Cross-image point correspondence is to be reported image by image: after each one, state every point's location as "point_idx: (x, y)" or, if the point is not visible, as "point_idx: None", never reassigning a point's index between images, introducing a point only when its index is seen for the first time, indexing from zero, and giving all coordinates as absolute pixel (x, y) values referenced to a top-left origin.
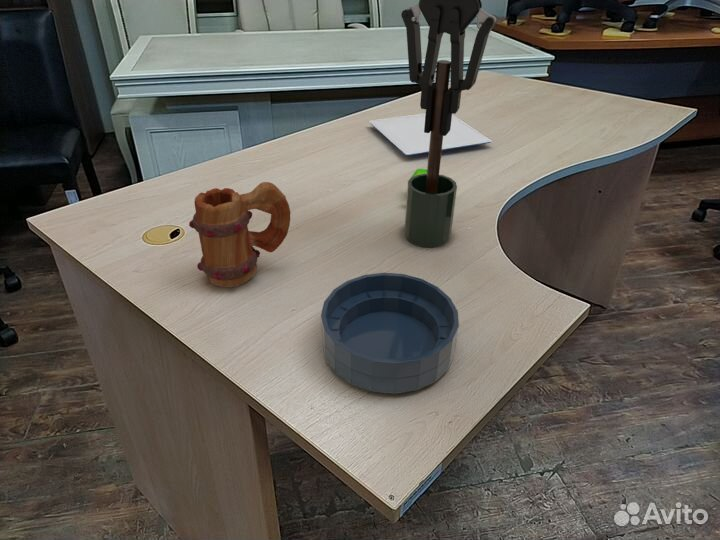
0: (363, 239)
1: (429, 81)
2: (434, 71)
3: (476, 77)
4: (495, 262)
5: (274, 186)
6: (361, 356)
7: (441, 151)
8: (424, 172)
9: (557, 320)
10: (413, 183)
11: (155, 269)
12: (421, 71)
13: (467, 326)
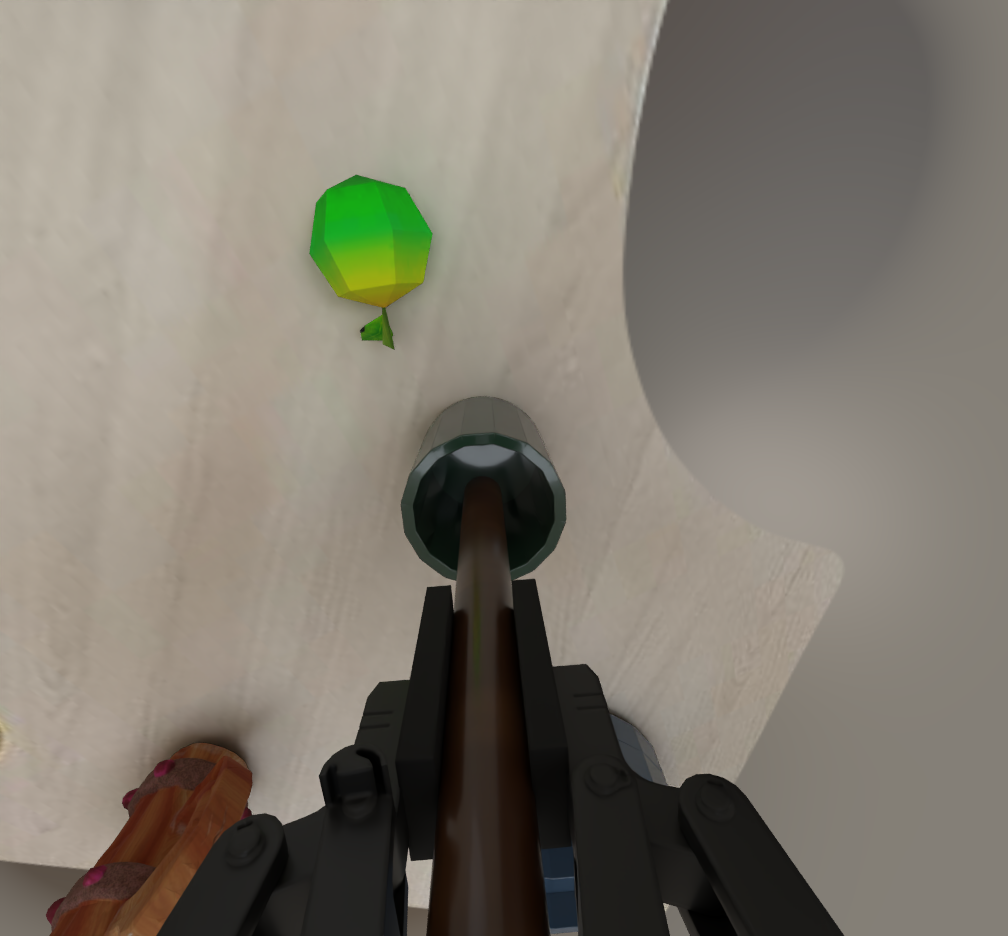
0: (352, 545)
1: (406, 914)
2: (391, 907)
3: (774, 848)
4: (670, 486)
5: (161, 924)
6: (568, 931)
7: (509, 567)
8: (360, 250)
9: (810, 607)
10: (415, 502)
11: (68, 812)
12: (267, 896)
13: (660, 689)
